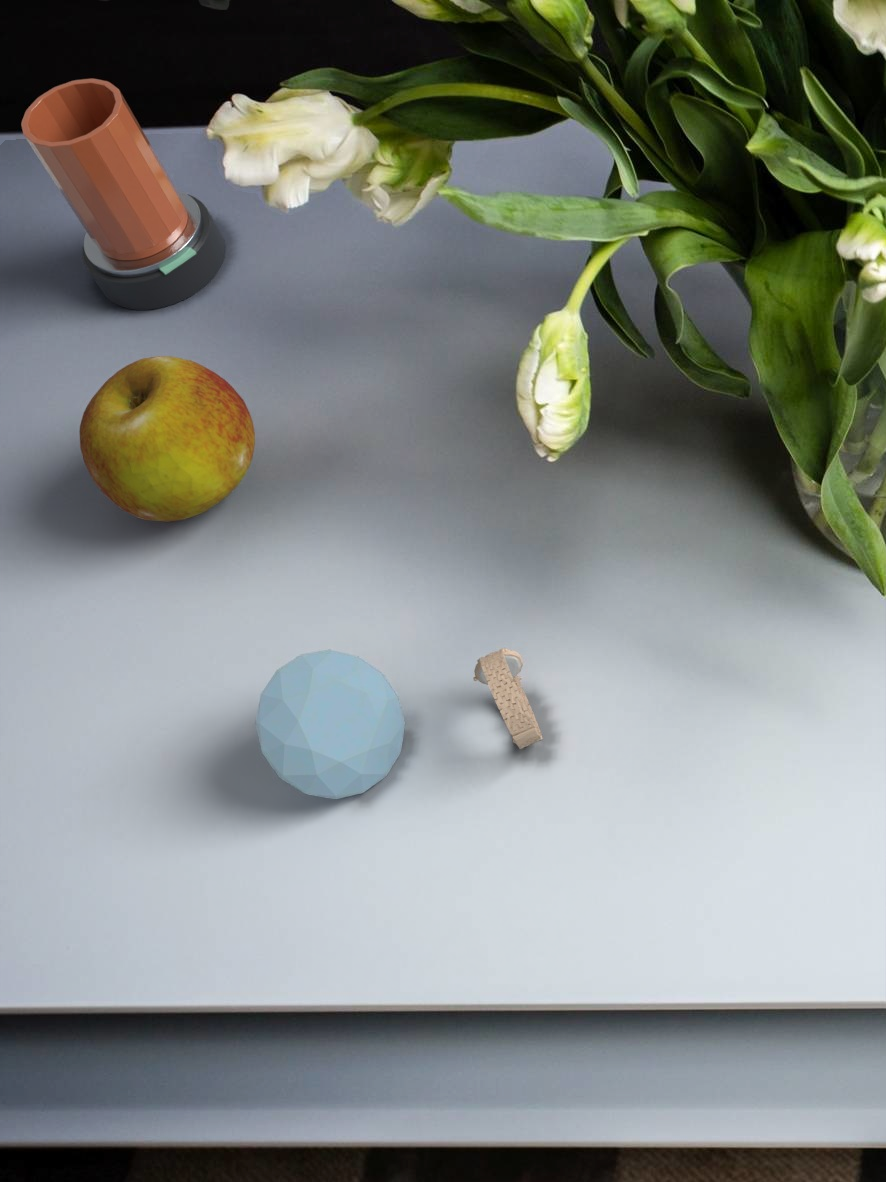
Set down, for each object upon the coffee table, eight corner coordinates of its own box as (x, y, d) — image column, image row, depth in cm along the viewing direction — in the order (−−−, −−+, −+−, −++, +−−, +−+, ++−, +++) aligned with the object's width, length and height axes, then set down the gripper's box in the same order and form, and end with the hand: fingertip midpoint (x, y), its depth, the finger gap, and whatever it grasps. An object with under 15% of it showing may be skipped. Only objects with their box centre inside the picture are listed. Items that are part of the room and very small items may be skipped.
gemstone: (199, 734, 82) (228, 720, 78) (303, 633, 86) (335, 615, 82) (309, 837, 85) (342, 828, 81) (406, 734, 89) (442, 721, 85)
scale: (143, 329, 104) (121, 295, 101) (76, 271, 107) (53, 237, 105) (250, 255, 106) (231, 220, 104) (181, 201, 110) (161, 166, 107)
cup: (127, 274, 102) (54, 160, 94) (79, 233, 105) (3, 118, 97) (206, 221, 104) (140, 104, 96) (156, 182, 106) (88, 65, 99)
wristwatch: (534, 681, 86) (507, 628, 82) (562, 751, 83) (536, 700, 79) (486, 701, 86) (457, 649, 81) (513, 772, 83) (485, 722, 79)
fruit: (161, 416, 99) (97, 322, 92) (298, 425, 98) (242, 330, 91) (98, 542, 94) (25, 453, 88) (240, 554, 93) (177, 464, 86)
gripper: (4, -309, 96) (13, -15, 100) (217, -304, 93) (217, -1, 97) (91, -267, 103) (96, 6, 107) (292, -261, 100) (289, 20, 104)
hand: (154, 3), depth 102 cm, fingers open, 8 cm apart
